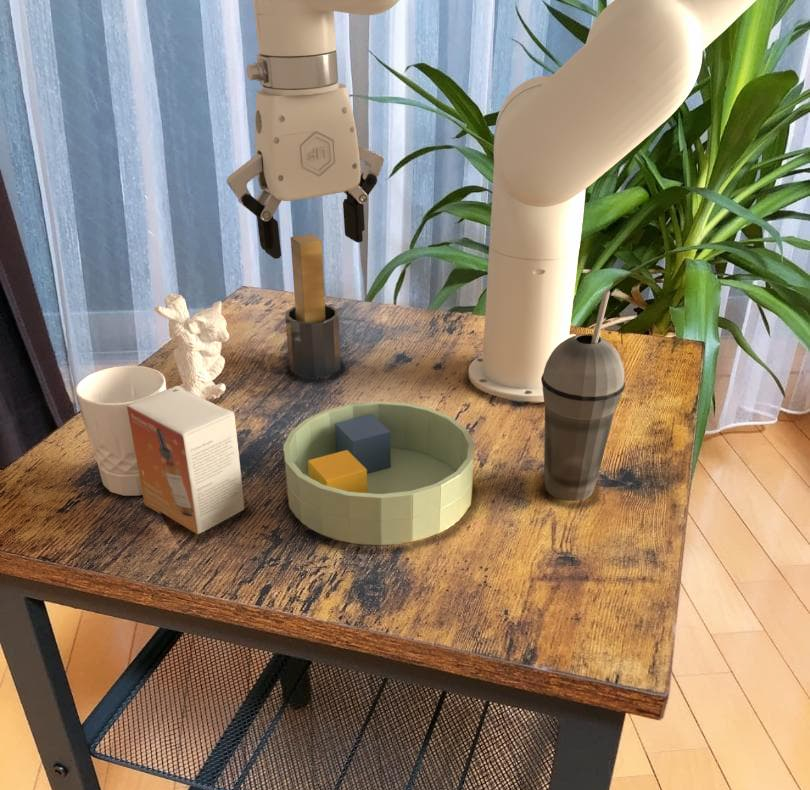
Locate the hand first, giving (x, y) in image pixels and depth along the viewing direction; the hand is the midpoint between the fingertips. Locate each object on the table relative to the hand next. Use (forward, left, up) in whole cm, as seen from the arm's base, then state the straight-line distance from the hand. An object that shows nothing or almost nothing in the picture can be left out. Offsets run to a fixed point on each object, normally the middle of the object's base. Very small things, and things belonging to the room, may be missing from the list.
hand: (314, 247), depth 99 cm
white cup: (+26, +14, -15) cm, 33 cm away
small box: (+23, +22, -15) cm, 35 cm away
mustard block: (+11, +27, -14) cm, 33 cm away
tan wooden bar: (+1, -1, -14) cm, 14 cm away
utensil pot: (+1, 0, -15) cm, 15 cm away
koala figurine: (+15, 0, -15) cm, 21 cm away
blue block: (+6, +22, -14) cm, 27 cm away
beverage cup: (-9, +36, -15) cm, 40 cm away
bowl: (+7, +28, -15) cm, 32 cm away
